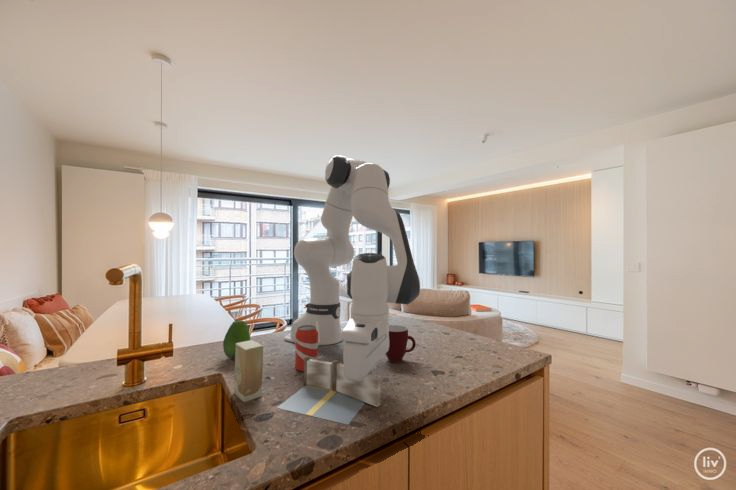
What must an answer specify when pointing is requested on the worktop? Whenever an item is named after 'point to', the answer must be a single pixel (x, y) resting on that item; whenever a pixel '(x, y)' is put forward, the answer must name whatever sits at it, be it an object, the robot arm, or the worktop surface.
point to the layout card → (323, 404)
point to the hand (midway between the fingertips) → (369, 383)
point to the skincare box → (248, 370)
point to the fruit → (235, 337)
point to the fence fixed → (320, 373)
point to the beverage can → (306, 345)
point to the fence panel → (359, 386)
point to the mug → (398, 343)
